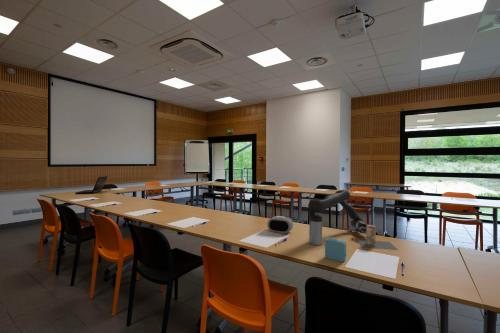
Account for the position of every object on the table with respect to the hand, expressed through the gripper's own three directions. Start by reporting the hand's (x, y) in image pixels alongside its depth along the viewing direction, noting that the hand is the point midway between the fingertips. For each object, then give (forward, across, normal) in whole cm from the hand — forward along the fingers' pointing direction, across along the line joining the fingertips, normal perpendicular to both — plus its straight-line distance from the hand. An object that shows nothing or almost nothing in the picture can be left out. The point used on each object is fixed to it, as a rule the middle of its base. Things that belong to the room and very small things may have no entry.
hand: (367, 232), depth 191 cm
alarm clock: (-12, -68, +8) cm, 69 cm away
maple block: (+8, 0, +7) cm, 11 cm away
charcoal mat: (+8, +4, +8) cm, 11 cm away
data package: (+40, -30, +8) cm, 51 cm away
